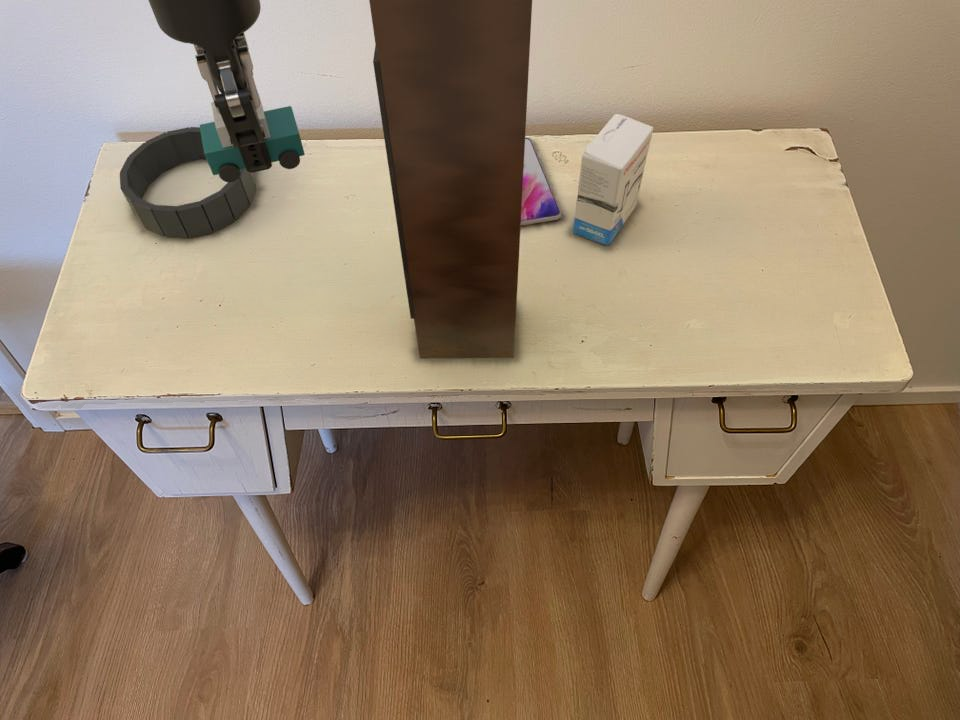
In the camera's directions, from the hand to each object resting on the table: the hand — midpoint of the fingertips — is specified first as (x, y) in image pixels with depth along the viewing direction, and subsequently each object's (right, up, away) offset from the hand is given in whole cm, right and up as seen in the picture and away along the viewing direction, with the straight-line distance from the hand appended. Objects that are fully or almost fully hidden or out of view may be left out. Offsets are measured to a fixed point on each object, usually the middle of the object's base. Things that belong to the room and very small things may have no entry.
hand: (255, 150), depth 64 cm
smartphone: (+25, +4, +27) cm, 37 cm away
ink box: (+35, -1, +24) cm, 42 cm away
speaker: (+18, -15, +15) cm, 28 cm away
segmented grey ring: (-16, +2, +27) cm, 31 cm away
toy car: (0, 0, +1) cm, 1 cm away
